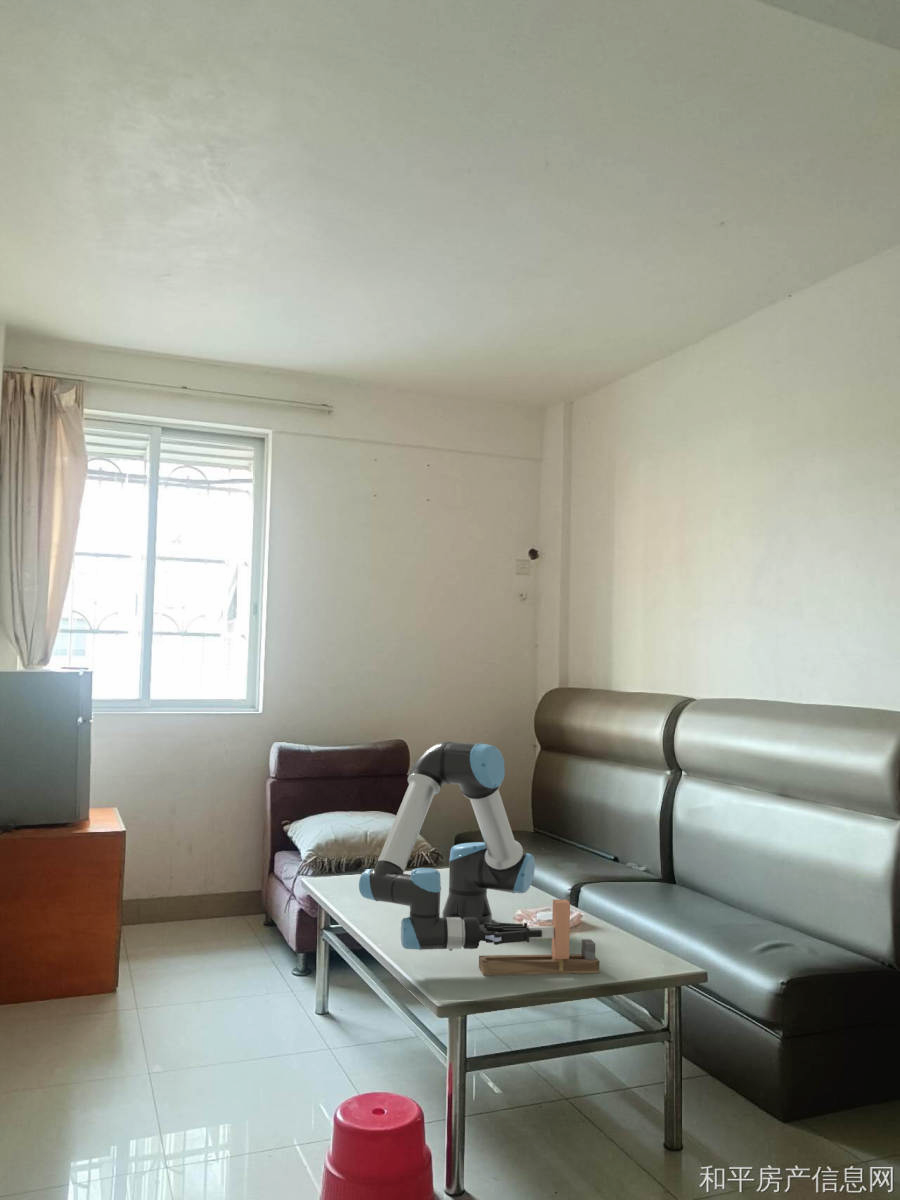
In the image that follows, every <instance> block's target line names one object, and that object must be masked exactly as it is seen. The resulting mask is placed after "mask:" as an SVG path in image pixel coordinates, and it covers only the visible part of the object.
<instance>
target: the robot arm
mask: <svg viewBox="0 0 900 1200" xmlns="http://www.w3.org/2000/svg"><path fill="white" fill-rule="evenodd" d="M504 759H505V758H504V757H503V754H502V752H501V751H500V749H499V748H497V747H496V746H495V745H491V744H487V743H481V742H480V743H472V742H471V743H470V742H469V743H468V742H459V741H458V742H457V741H456V742H455V741H442V742H439V743H436V744H434V745H431V747H429V748H428V749H427V750H426V751H425V752H424V753H423V754H421V756H420V757H419V758H418V759H417V761H416V762H415V763H414V765H413V766H412V768H411V770H410V772H409V775H408V776H407V783H408V786H407V789H406V791H405V793H404V796H403V798H402V802H401V803H400V806H399V808H398V811H397V813H396V815H395V817H394V820H393V823H392V824H391V827H390V831H389V833H388V835H387V836H386V839H385V842H384V845H383V847H382V850H381V852H380V854H379V857H378V859H377V862H376V864H375V866H374V868H367V869H365V870H364V872H362V873H361V874H360V877H359V882H358V891H359V893H360V895H361V896H362V897H363V898H365V899H368V900H372V901H375V902H385V903H392V904H396V905H402V906H408V907H409V916H408V917H403V918H402V919H401V924H400V925H401V926H400V943H401V946H402V948H404V949H406V950H419V951H423V950H448V951H449V952H452V951H453V949H454V950H457V949H458V950H461V949H464V950H475V949H478V948H479V945H480V942H485V943H488V944H492V943H493V945H496V946H497V945H498V946H499V945H501V944H502V945H503V944H512V943H513V944H514V943H522V942H523V943H524V942H526V943H530V940H533V939H552V938H554V927H553V926H552V925H528V923H527V922H523V923H513V922H512V923H510V922H493V921H492V917H493V915H492V914H493V913H492V910H491V907H490V903H489V898H488V896H487V893H488V892H487V891H488V890H494V891H500V892H507V893H509V894H510V893H512V894H526V893H527V892H528V891H529V889H530V887H531V886H532V883H533V880H534V874H535V871H536V870H535V868H536V867H535V866H536V864H535V863H536V861H535V857H534V855H533V854H531V853H528V852H527V853H525V852H524V848H523V846H522V845H521V843H520V842H518V840H515V836H514V834H513V831H512V828H511V825H510V821H509V819H508V818H509V817H508V815H507V812H506V808H505V806H504V804H503V803H504V802H503V800H502V796H501V793H500V790H499V789H500V788H501V785H502V783H503V781H504V779H505V774H506V769H505V765H506V764H505V761H504ZM445 784H450V785H458V786H459V788H460V792H461V793H462V795H463V796H464V797H465V798H467V799H468V800H469V801H470V804H471V807H472V809H473V812H474V815H475V818H476V820H477V824H478V827H479V829H480V832H481V833H480V834H481V837H482V838H483V841H481V842H479V841H478V842H477V841H474V842H464V843H458V844H456V845H453V846H452V847H451V849H450V851H449V859H448V861H449V875H448V876H449V877H448V896H447V897H446V898H447V899H446V901H445V904H444V906H443V907H444V908H443V910H442V913H441V914H442V916H441V915H440V909H441V892H442V885H441V872H439V870H438V869H435V868H432V867H417V868H414V869H411V873H410V874H407V873H405V870H406V867H407V865H408V862H409V860H410V857H411V856H412V855H411V854H412V852H413V850H414V847H415V845H416V843H417V840H418V837H419V835H420V833H421V829H422V826H423V824H424V821H425V819H426V816H427V815H428V811H429V808H431V807H430V806H431V804H432V801H433V798H434V796H435V795H438V794H439V792H440V791H441V789H442V786H444V785H445Z"/></svg>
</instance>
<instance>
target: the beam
mask: <svg viewBox="0 0 900 1200" xmlns="http://www.w3.org/2000/svg"><path fill="white" fill-rule="evenodd" d="M552 957H553V956H552V953H551V954H505V955H504V954H499V955H498V954H495V955H493V954H491V955H490V954H489V955H478V969H479V971H480V973H481V974H482V976H504V975H505V976H508V975H509V976H513V975H514V976H515V975H517V976H518V975H562V974H563V975H565V974H567V975H568V973H571V974H572V973H576V974H600V960H599V959H598V958H597V957H596V943H595V942H594V941H593V940H592V939H591V938H587V939H585V938H582V939H581V953H569V959H557V960H552Z"/></svg>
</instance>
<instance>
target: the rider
mask: <svg viewBox="0 0 900 1200" xmlns="http://www.w3.org/2000/svg"><path fill="white" fill-rule="evenodd" d="M551 918H552V921H551V926H553V927H554V938H551V954H552V956H553V957H552V960H557V959H569V954H570V940H571V939H570V933H571V929H570V928H571V927H570V925H571V902H570V901H569V900H568V899H566V898H565V899H559V898H558V899H552V917H551Z"/></svg>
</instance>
